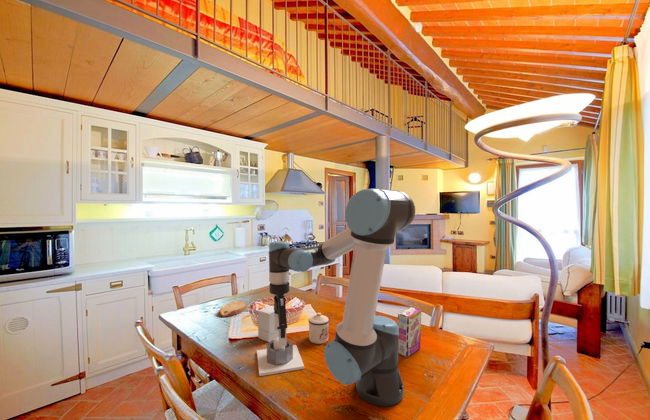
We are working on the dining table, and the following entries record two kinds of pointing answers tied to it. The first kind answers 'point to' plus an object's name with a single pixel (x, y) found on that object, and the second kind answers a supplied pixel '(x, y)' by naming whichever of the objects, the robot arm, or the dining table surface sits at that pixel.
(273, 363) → the ring
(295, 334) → the dining table surface
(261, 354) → the post
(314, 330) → the teacup with lid
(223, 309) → the slice of bread
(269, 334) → the supplement box
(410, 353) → the candy bar box
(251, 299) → the dining table surface
